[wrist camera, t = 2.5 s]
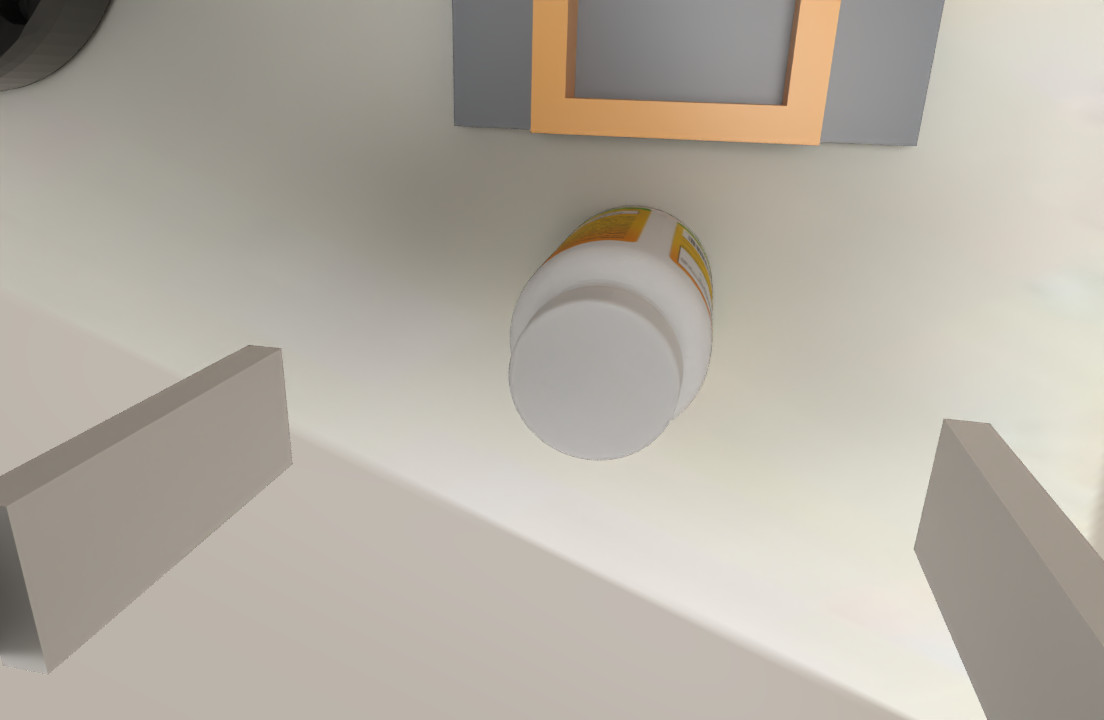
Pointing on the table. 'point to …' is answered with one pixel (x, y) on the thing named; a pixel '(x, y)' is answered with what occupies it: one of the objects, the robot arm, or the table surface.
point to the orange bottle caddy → (697, 68)
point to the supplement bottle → (612, 334)
